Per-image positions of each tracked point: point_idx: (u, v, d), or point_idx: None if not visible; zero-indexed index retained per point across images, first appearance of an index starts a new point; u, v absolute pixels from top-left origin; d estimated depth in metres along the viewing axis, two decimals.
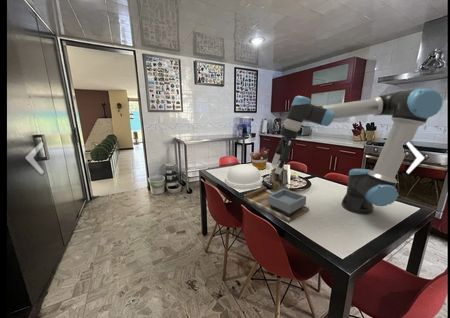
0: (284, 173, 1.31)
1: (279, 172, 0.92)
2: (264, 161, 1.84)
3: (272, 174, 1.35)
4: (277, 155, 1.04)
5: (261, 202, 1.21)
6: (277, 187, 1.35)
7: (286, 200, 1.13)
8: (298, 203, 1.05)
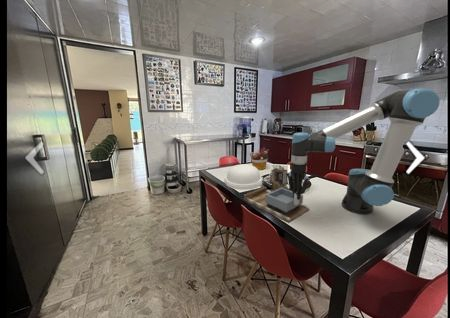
0: (284, 173, 1.31)
1: (298, 202, 1.06)
2: (264, 161, 1.84)
3: (272, 174, 1.35)
4: None
5: (261, 202, 1.21)
6: (277, 187, 1.35)
7: (283, 199, 1.14)
8: None
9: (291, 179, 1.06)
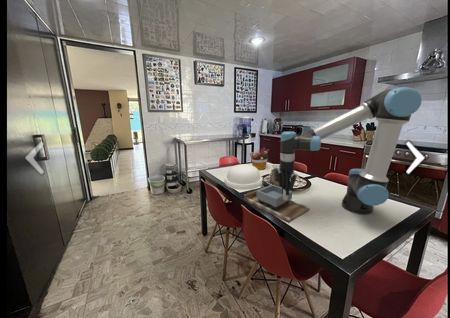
0: None
1: (287, 198, 1.11)
2: (264, 161, 1.84)
3: (272, 174, 1.35)
4: None
5: None
6: None
7: (274, 195, 1.20)
8: None
9: (280, 176, 1.11)
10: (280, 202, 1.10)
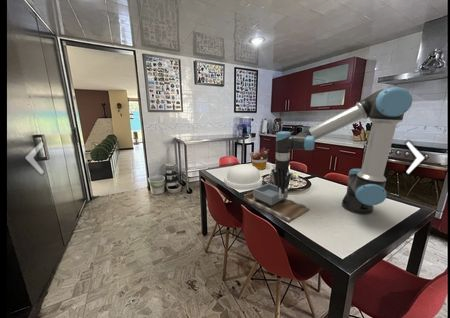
0: None
1: (282, 196, 1.14)
2: (264, 161, 1.84)
3: (272, 174, 1.35)
4: None
5: (261, 202, 1.21)
6: None
7: (270, 193, 1.22)
8: None
9: (276, 175, 1.14)
10: (276, 200, 1.13)
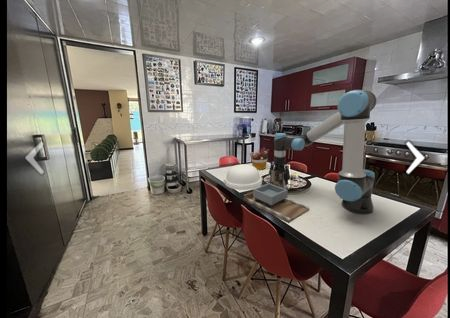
0: None
1: (285, 187, 1.33)
2: (264, 161, 1.84)
3: (272, 174, 1.35)
4: None
5: (261, 202, 1.21)
6: None
7: (270, 193, 1.22)
8: (280, 196, 1.15)
9: (272, 167, 1.39)
10: (276, 200, 1.13)
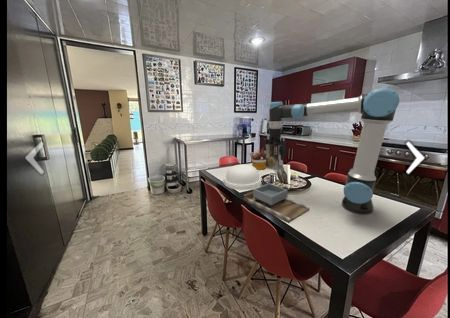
0: None
1: (281, 163, 1.20)
2: (264, 161, 1.84)
3: (267, 149, 1.22)
4: None
5: (261, 202, 1.21)
6: (272, 163, 1.21)
7: (270, 193, 1.22)
8: (280, 196, 1.15)
9: (267, 142, 1.25)
10: (276, 200, 1.13)
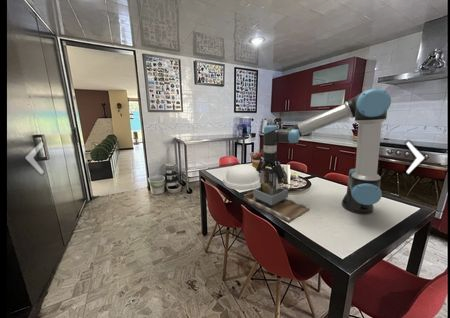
0: (275, 174, 1.14)
1: (279, 186, 1.14)
2: None
3: (262, 175, 1.18)
4: None
5: (261, 202, 1.21)
6: (267, 190, 1.18)
7: None
8: (280, 196, 1.14)
9: (261, 163, 1.22)
10: (276, 200, 1.13)
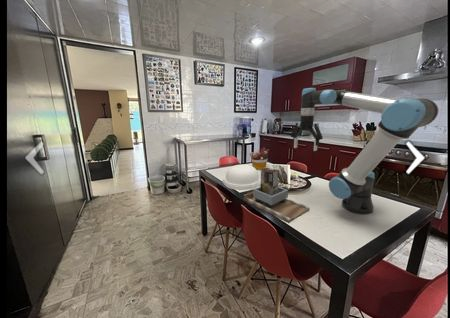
0: (275, 174, 1.14)
1: (316, 149, 1.18)
2: (264, 161, 1.84)
3: (261, 175, 1.18)
4: (296, 139, 1.27)
5: (261, 202, 1.21)
6: (267, 190, 1.18)
7: None
8: (280, 196, 1.14)
9: (297, 128, 1.25)
10: (276, 200, 1.13)
